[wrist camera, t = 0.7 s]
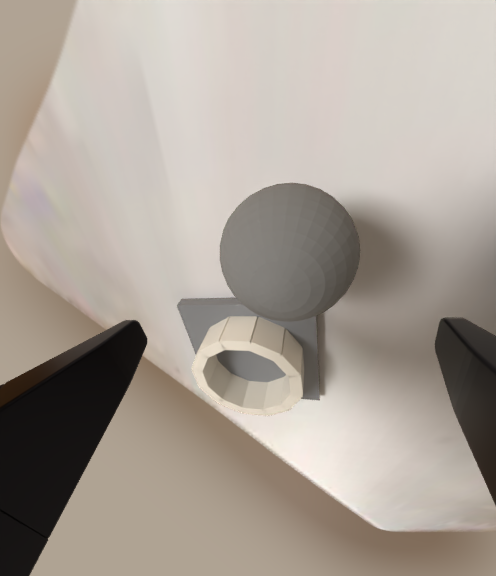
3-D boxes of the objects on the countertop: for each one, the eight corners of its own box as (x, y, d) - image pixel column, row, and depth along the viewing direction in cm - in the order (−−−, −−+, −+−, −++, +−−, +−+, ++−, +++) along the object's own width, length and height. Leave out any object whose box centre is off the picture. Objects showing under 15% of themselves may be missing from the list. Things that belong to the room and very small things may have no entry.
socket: (315, 296, 20) (315, 329, 17) (319, 391, 27) (320, 429, 23) (181, 299, 24) (160, 327, 20) (212, 383, 30) (200, 415, 27)
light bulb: (335, 253, 18) (352, 362, 10) (253, 248, 19) (207, 341, 11) (351, 160, 15) (396, 208, 7) (251, 160, 16) (186, 201, 8)
